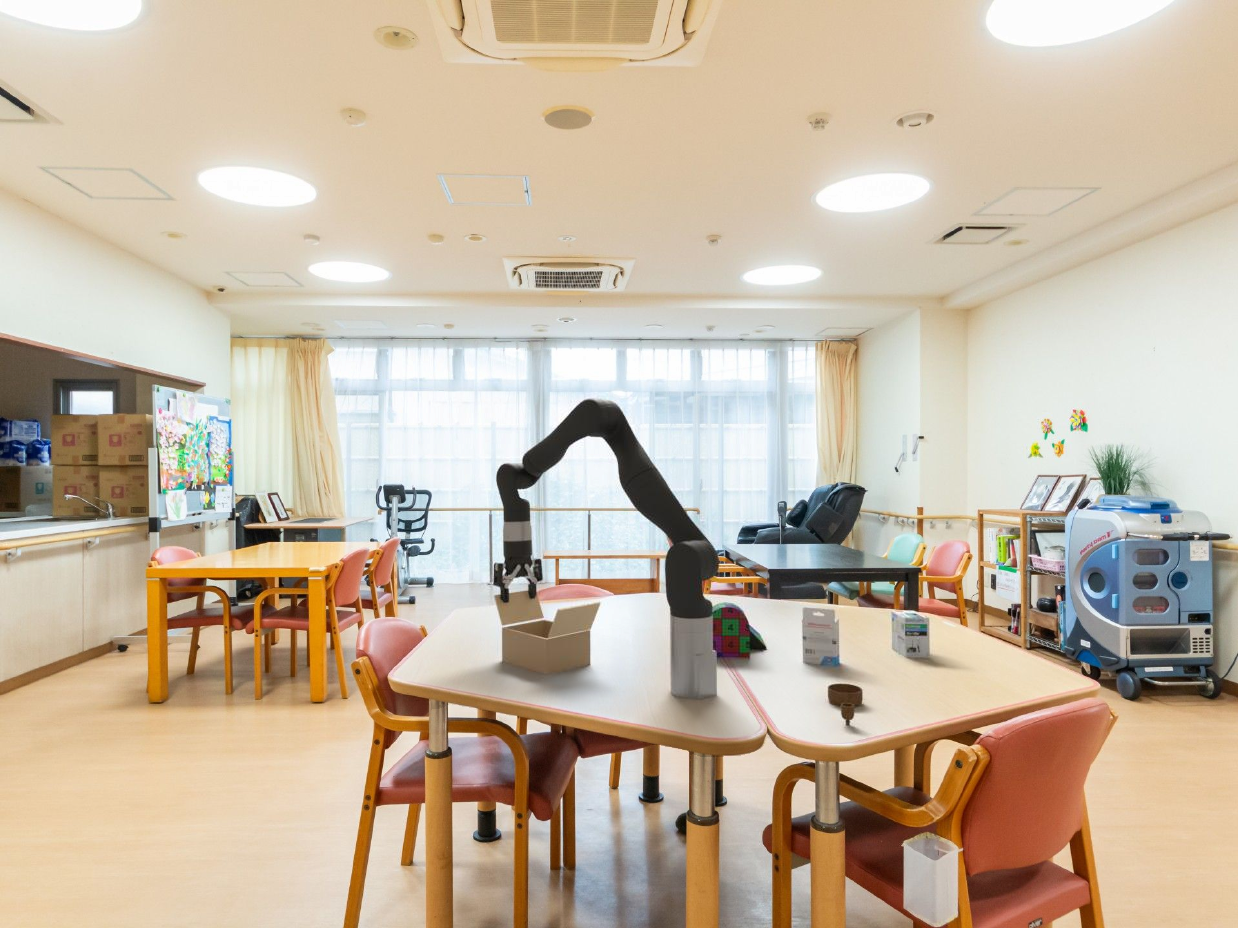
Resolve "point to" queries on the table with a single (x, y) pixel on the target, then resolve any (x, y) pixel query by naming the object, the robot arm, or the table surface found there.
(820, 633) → the ink box
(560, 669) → the carton
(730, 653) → the toy block train
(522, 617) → the far flap
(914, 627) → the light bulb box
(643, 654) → the table surface
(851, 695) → the place setting
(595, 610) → the near flap
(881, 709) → the table surface
